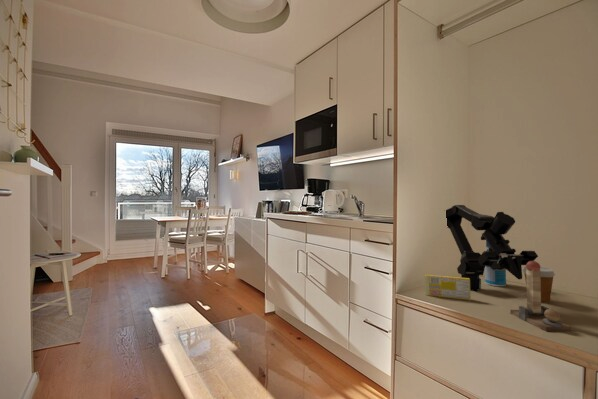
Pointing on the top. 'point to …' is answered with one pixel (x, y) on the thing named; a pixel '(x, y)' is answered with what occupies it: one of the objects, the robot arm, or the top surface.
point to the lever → (533, 288)
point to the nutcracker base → (542, 319)
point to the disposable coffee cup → (544, 283)
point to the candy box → (447, 287)
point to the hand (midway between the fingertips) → (520, 278)
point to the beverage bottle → (494, 275)
